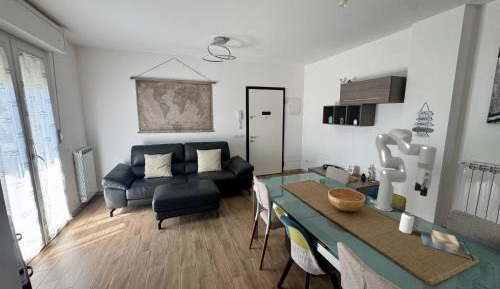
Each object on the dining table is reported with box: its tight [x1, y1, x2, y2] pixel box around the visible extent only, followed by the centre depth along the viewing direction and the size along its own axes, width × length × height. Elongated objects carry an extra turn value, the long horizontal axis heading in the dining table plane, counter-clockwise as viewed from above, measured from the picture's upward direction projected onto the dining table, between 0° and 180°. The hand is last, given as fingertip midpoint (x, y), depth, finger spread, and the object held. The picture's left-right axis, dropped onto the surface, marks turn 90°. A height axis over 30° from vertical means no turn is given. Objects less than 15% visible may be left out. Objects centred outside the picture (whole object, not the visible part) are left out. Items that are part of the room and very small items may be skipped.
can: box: [398, 211, 415, 235], centre depth 131 cm, size 6×6×12 cm
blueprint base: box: [419, 229, 471, 255], centre depth 120 cm, size 20×18×5 cm
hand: (420, 193), depth 127 cm, fingers open, 9 cm apart
